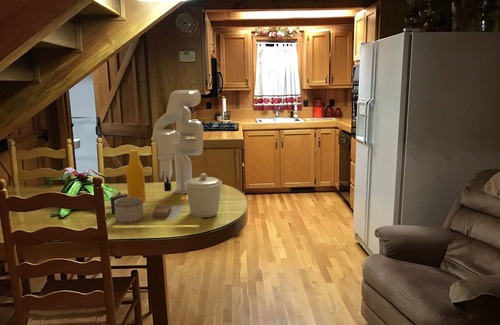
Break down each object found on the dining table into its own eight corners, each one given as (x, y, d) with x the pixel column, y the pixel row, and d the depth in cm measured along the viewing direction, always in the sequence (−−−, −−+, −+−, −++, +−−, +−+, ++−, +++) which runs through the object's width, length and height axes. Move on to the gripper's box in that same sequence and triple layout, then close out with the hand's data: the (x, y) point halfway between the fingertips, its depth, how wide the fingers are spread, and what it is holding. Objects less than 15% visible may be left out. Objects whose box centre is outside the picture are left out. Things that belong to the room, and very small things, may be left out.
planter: (144, 224, 186) (142, 203, 184) (115, 227, 183) (113, 205, 181) (143, 216, 198) (142, 195, 196) (116, 218, 195) (114, 198, 193)
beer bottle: (128, 201, 223) (124, 149, 217) (145, 199, 226) (142, 148, 220) (128, 206, 214) (124, 152, 209) (146, 204, 217) (143, 151, 211)
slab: (157, 205, 201) (152, 212, 191) (171, 205, 201) (167, 212, 191) (157, 211, 201) (152, 218, 192) (171, 211, 201) (167, 218, 192)
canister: (179, 218, 194) (177, 176, 190) (197, 207, 211) (195, 168, 207) (212, 222, 188) (211, 179, 184) (228, 211, 204) (227, 170, 200)
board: (157, 207, 211) (157, 205, 211) (183, 207, 211) (183, 205, 211) (147, 220, 192) (147, 218, 191) (176, 220, 191) (176, 218, 191)
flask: (127, 209, 209) (125, 189, 207) (130, 210, 207) (128, 190, 205) (110, 214, 202) (109, 193, 200) (113, 215, 200) (112, 194, 198)
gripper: (161, 153, 212) (163, 186, 217) (154, 159, 198) (157, 195, 202) (175, 153, 212) (177, 186, 217) (170, 159, 198) (172, 195, 202)
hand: (167, 190), depth 209 cm, fingers closed
